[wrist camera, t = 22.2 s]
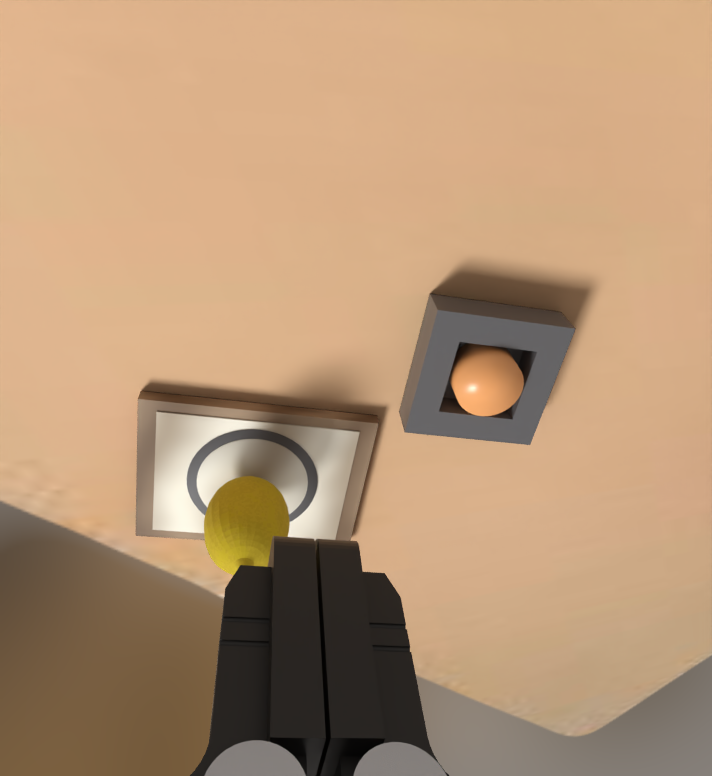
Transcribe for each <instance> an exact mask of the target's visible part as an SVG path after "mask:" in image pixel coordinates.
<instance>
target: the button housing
mask: <svg viewBox="0 0 712 776" xmlns="http://www.w3.org/2000/svg"><path fill="white" fill-rule="evenodd" d="M574 331H575V328H574V326H573V325H572V324H571V323H570V322H569V321H568V320H567V319H566V317H565V316H564V315H563V314H562V313H561V312H556V311H549V310H542V309H535V308H528V307H521V306H513V305H506V304H499V303H492V302H485V301H478V300H471V299H464V298H456V297H449V296H442V295H435V294H430V295H429V299H428V302H427V306H426V310H425V314H424V318H423V322H422V326H421V329H420V333H419V337H418V341H417V345H416V349H415V353H414V356H413V360H412V364H411V368H410V372H409V376H408V380H407V383H406V387H405V391H404V395H403V399H402V403H401V407H400V410H399V413H400V417H401V420H402V424H403V428H404V431H405V432H407V433H417V434H427V435H437V436H447V437H457V438H466V439H476V440H486V441H496V442H506V443H516V444H526V445H530V444H531V441H532V438H533V436H534V433H535V431H536V428H537V426H538V423H539V421H540V418H541V415H542V413H543V410H544V408H545V405H546V403H547V400H548V398H549V395H550V393H551V390H552V387H553V385H554V382H555V380H556V377H557V375H558V372H559V370H560V367H561V365H562V362H563V359H564V357H565V354H566V352H567V349H568V347H569V344H570V342H571V339H572V337H573V334H574ZM467 343H472V344H480V345H488V346H496V347H504V348H507V350H508V351H509V352H510V354H511V356H512V357H513V359H514V360H515V362H516V363H517V365H518V367H519V368H520V370H521V372H522V374H523V378H524V385H523V390H522V393H521V395H520V397H519V398H518V400H517V401H516V402H515V403H514V404H513V405H512V406H511V407H510V408H508V409H507V410H505V411H503V412H501V413H499V414H496V415H492V416H477V415H473V414H471V413H469V412H467V411H466V410H464V409H463V408H462V407H461V406H460V404H459V402H458V400H457V398H456V395H455V393H454V391H453V388H452V386H451V384H450V381H449V376H450V372H451V369H452V366H453V362H454V359H455V355H456V352H457V350H458V349H459V348H461V347H462V346H463V345H465V344H467Z"/></svg>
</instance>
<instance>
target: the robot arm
mask: <svg viewBox="0 0 712 776" xmlns="http://www.w3.org/2000/svg"><path fill="white" fill-rule="evenodd" d="M405 625H406V623H405V618H404V613H403V608H402V602H401V597H400V596H399V594H398V593H397V591H396V590H395V588H394V587H393V585H392V584H391V582H390V581H389V579H388V578H387V576H386V575H385V573H372V572H362V565H361V557H360V550H359V545H358V542H357V541H345V540H330V539H316V540H315V541H314V539H312V538H297V537H282V536H273V538H272V542H271V549H270V555H269V561H268V567H266V566H249V565H240V566H239V568H238V570H237V571H236V573H235V574H234V576H233V577H232V579H231V581H230V582H229V584H228V585H227V587H226V589H225V597H224V606H223V615H222V624H221V632H220V641H219V651H218V661H217V670H216V681H215V689H214V699H213V708H212V718H211V728H210V739H209V745H208V747H207V750H206V753H205V755H204V757H203V759H202V761H201V763H200V764H199V765H198V767H197V768H196V770H195V771H194V772H193V773H192V774H191V775H190V776H449V775H448V774H447V773H446V772H445V771H444V769H443V768H442V767H441V765H440V764H439V763H438V761H437V759H436V758H435V756H434V754H433V752H432V749H431V747H430V744H429V740H428V737H427V732H426V727H425V721H424V716H423V712H422V706H421V701H420V696H419V691H418V685H417V680H416V675H415V670H414V665H413V659H412V654H411V652H410V644H409V639H408V634H407V630H406V629H405Z"/></svg>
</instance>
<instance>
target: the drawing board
mask: <svg viewBox="0 0 712 776" xmlns="http://www.w3.org/2000/svg"><path fill="white" fill-rule="evenodd" d="M378 425H379V423H378V418H377V416H376V415H366V414H357V413H347V412H338V411H328V410H319V409H309V408H299V407H290V406H280V405H271V404H261V403H252V402H242V401H233V400H223V399H213V398H204V397H194V396H185V395H175V394H166V393H156V392H146V391H141V392H140V395H139V397H138V426H137V486H136V536H149V537H164V538H179V539H194V540H205V538H204V518H205V514H206V511H207V508H208V505H209V502H210V500H211V499H212V497H213V496H214V494H215V493H216V491H217V490H218V489H219V488H220V487H221V486H223V485H224V484H225V483H227V482H228V481H230V480H233V479H235V478H238V477H243V476H254V477H259V478H262V479H265V480H267V481H269V482H270V483H272V484H273V485H274V486H275V487H276V488H277V489H278V490H279V491H280V492H281V494H282V495H283V497H284V500H285V502H286V504H287V507H288V512H289V521H290V526H289V533H288V537H297V538H312V539H314V541H315V540H316V539H330V540H345V541H350V540H351V536H352V532H353V527H354V523H355V519H356V515H357V511H358V507H359V503H360V499H361V495H362V490H363V486H364V482H365V478H366V474H367V470H368V466H369V462H370V457H371V453H372V449H373V445H374V441H375V437H376V433H377V429H378Z"/></svg>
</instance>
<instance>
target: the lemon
mask: <svg viewBox="0 0 712 776" xmlns="http://www.w3.org/2000/svg"><path fill="white" fill-rule="evenodd" d="M289 526H290V521H289V512H288V507H287V504H286V502H285V500H284V497H283V495H282V494H281V492H280V491H279V490H278V489H277V488H276V487H275V486H274V485H273V484H272V483H270V482H269V481H267V480H265V479H262V478H259V477H254V476H243V477H238V478H235V479H233V480H230V481H228V482H227V483H225V484H224V485H223V486H221V487H220V488H219V489H218V490H217V491H216V493H215V494H214V496H213V497H212V499H211V500H210V502H209V505H208V508H207V511H206V514H205V518H204V538H205V544H206V547H207V550H208V552H209V555H210V557H211V559H212V560H213V561H214V562H215V564H216V565H217V566H218V567H219V568H221V569H222V570H224V571H225V572H227V573H229V574H232V575H234V574H235V573H236V571H237V570H238V568H239V566H240V565H249V566H266V567H268V561H269V555H270V549H271V542H272V538H273V536H282V537H288V533H289Z"/></svg>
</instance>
